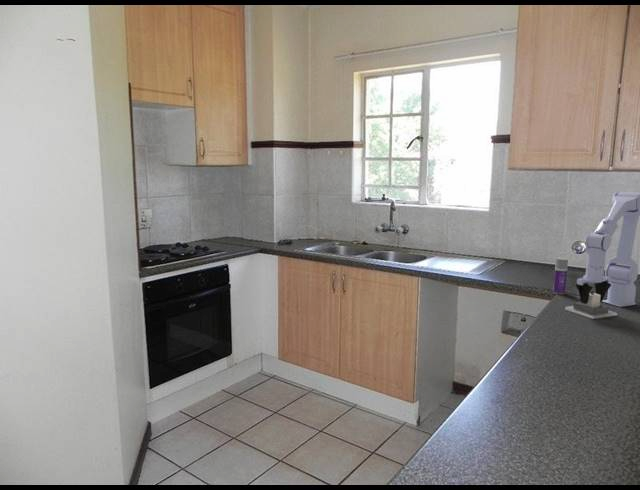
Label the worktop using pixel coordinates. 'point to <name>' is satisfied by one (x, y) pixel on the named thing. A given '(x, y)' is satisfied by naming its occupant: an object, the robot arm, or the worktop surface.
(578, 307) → the socket plate
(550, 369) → the worktop surface
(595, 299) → the plug
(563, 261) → the container
